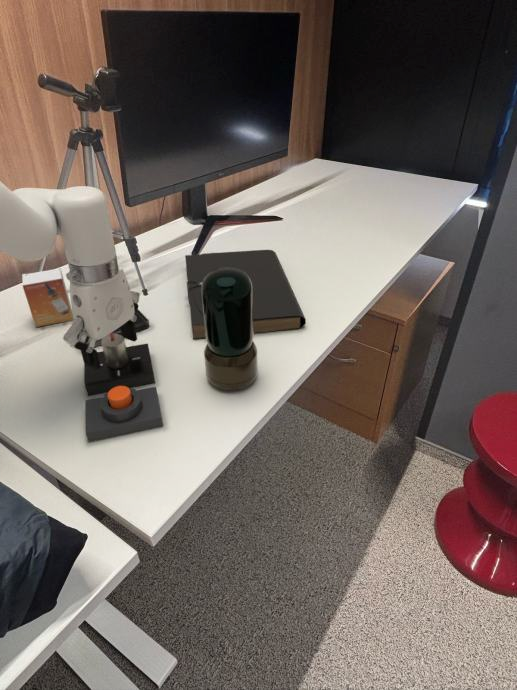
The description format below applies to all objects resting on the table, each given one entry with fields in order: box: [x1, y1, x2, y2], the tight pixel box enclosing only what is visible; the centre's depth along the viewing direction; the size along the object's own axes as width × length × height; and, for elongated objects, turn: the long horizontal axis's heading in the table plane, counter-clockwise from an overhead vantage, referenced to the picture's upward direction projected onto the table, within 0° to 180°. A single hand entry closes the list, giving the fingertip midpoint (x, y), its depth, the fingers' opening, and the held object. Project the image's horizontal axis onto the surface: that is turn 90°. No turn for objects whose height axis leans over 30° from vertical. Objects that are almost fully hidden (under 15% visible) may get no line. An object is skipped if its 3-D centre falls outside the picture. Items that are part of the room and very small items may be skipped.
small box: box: [21, 267, 74, 328], centre depth 104 cm, size 8×6×10 cm
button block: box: [84, 386, 164, 443], centre depth 80 cm, size 12×8×4 cm, turn 106°
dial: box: [101, 333, 129, 369], centre depth 88 cm, size 4×4×5 cm
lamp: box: [201, 267, 258, 391], centre depth 84 cm, size 10×10×22 cm
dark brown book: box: [184, 249, 307, 340], centre depth 113 cm, size 33×4×24 cm
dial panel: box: [83, 343, 156, 397], centre depth 90 cm, size 12×9×3 cm
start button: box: [108, 386, 132, 409], centre depth 79 cm, size 4×4×2 cm
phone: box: [77, 309, 150, 348], centre depth 103 cm, size 8×1×15 cm
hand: (112, 352), depth 88 cm, fingers open, 9 cm apart
